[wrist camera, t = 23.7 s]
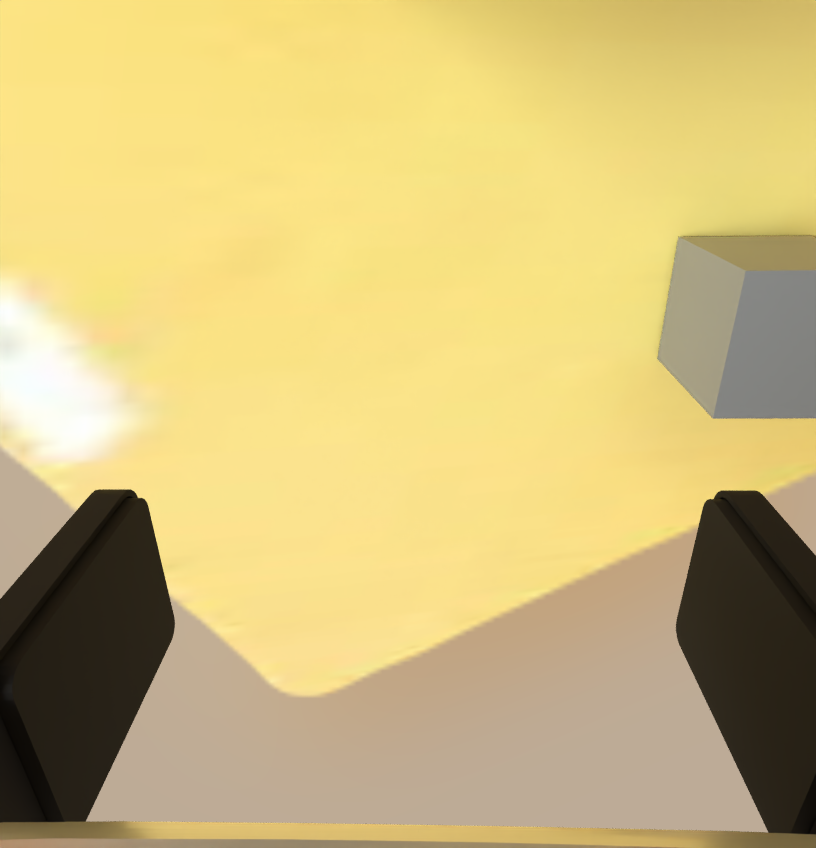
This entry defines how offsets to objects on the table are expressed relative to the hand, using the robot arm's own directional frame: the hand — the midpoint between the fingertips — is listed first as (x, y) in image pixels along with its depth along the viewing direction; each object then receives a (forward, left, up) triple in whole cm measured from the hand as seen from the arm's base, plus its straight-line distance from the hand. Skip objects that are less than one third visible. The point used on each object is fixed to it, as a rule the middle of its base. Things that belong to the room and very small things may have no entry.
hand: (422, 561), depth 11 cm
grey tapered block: (+4, +19, -30) cm, 36 cm away
